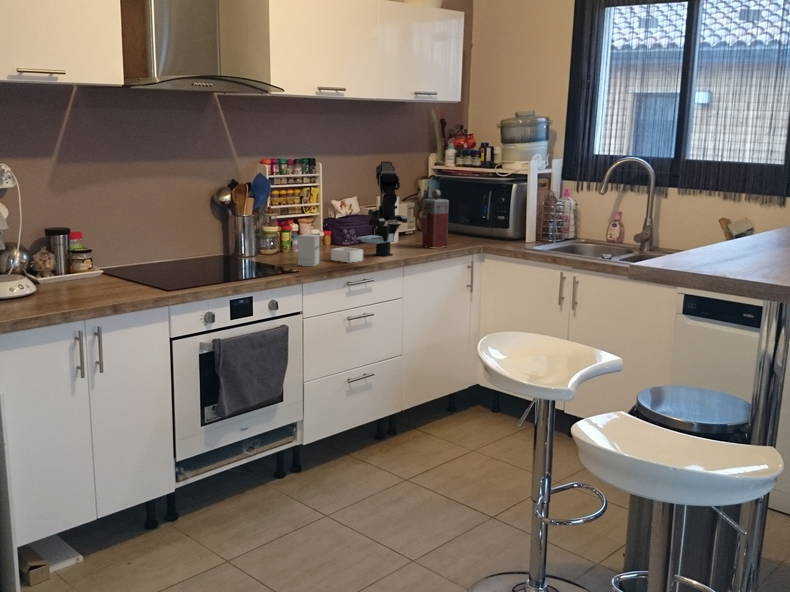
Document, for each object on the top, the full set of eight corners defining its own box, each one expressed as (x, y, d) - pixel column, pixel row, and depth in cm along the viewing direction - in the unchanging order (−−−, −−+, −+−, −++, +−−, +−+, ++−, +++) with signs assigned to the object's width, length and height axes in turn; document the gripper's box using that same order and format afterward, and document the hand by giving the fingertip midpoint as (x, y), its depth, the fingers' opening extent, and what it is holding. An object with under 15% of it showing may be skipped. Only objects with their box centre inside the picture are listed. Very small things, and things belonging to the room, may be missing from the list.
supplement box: (314, 266, 331) (314, 236, 329) (297, 265, 333) (297, 235, 330) (319, 263, 338) (319, 234, 336) (303, 263, 340) (302, 233, 337)
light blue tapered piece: (357, 241, 335) (357, 231, 334) (371, 239, 342) (372, 229, 341) (383, 245, 326) (384, 234, 325) (397, 242, 333) (398, 232, 332)
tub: (330, 260, 347) (330, 249, 346) (344, 258, 354) (344, 246, 353) (349, 263, 340) (349, 251, 339) (363, 260, 347) (363, 249, 346)
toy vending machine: (418, 247, 391) (419, 189, 385) (436, 245, 397) (437, 188, 391) (429, 249, 384) (431, 190, 378) (447, 247, 390) (449, 190, 384)
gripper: (388, 200, 339) (387, 237, 343) (358, 203, 325) (358, 241, 329) (408, 202, 332) (407, 239, 336) (379, 205, 318) (378, 244, 322)
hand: (387, 241), depth 330 cm, fingers closed on light blue tapered piece, 3 cm apart
